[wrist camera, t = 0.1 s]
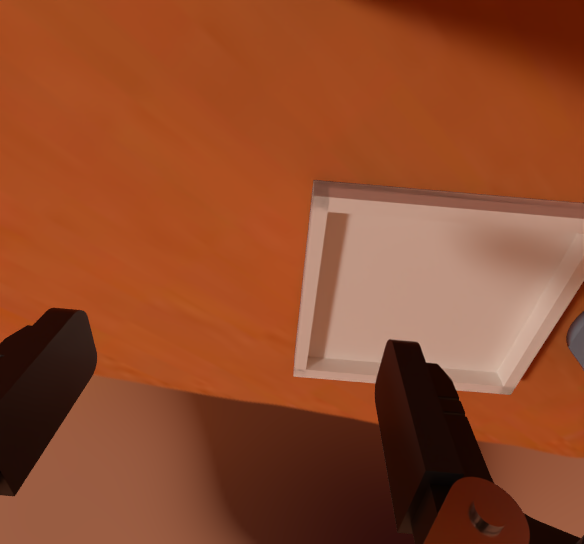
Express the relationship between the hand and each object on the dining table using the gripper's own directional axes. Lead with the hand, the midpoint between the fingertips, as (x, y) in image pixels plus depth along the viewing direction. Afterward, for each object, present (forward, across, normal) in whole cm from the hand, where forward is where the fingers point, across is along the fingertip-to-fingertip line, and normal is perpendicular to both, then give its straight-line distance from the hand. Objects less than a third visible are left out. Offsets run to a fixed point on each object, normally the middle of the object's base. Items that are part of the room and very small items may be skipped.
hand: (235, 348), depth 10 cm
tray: (+18, -12, +9) cm, 23 cm away
